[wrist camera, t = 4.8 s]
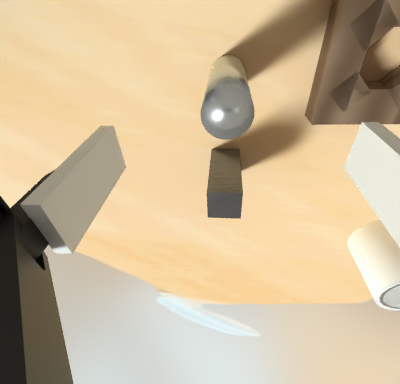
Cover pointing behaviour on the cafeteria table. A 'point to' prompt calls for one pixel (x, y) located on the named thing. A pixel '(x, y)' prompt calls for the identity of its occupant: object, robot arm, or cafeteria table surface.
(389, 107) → the socket block
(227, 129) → the grey cylinder
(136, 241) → the cafeteria table surface
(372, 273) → the mug
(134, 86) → the cafeteria table surface
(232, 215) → the square bit
